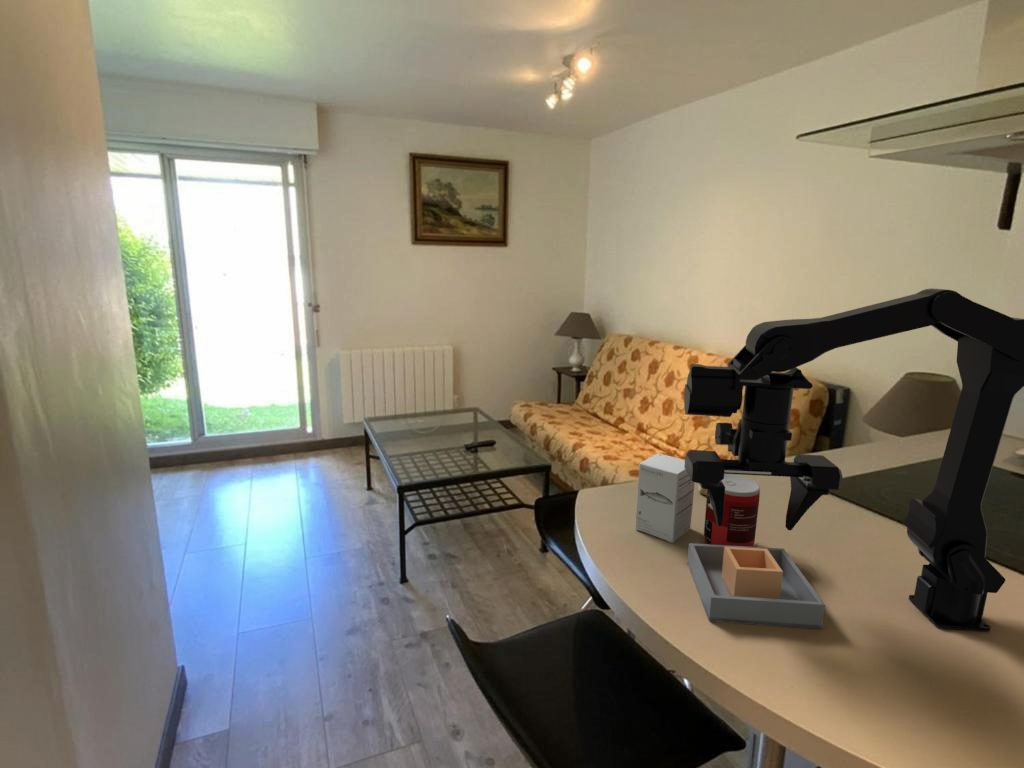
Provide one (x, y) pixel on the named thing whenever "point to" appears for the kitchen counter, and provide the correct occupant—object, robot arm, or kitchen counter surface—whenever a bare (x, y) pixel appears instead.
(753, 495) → the canned food
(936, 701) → the kitchen counter surface
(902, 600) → the kitchen counter surface
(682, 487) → the supplement box
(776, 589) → the small crate
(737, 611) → the grey square tray
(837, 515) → the kitchen counter surface
